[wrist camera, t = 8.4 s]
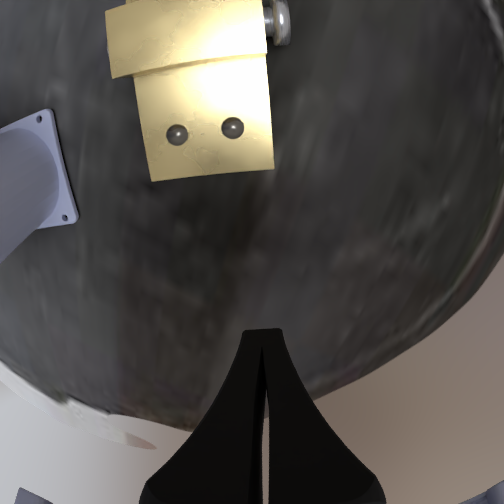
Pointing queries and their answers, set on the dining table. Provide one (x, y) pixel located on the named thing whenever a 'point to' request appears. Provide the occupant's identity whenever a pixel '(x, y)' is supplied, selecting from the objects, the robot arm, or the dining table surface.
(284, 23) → the hinge pin
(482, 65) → the dining table surface
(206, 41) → the hinge leaves
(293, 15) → the dining table surface
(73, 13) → the dining table surface
